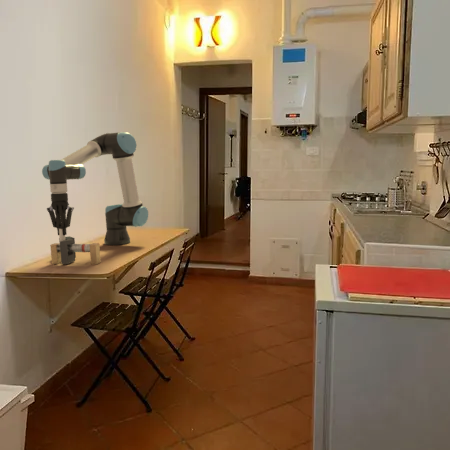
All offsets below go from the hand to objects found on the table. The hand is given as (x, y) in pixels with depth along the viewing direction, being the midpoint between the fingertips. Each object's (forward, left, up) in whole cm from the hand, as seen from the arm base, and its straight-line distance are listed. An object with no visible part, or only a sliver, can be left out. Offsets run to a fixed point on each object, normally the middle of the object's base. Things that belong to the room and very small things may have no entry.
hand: (62, 241), depth 226 cm
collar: (0, +2, -4) cm, 4 cm away
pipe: (0, +6, -11) cm, 12 cm away
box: (-13, -5, -11) cm, 18 cm away
